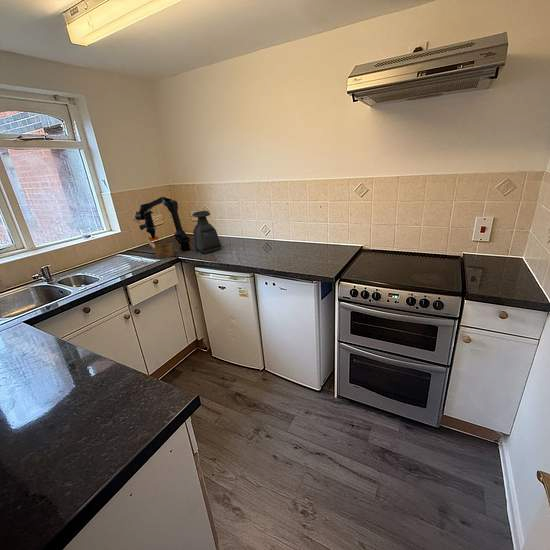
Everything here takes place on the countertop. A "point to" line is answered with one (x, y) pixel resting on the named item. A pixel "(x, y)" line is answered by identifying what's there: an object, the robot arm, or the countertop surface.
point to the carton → (164, 251)
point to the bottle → (205, 234)
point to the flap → (151, 243)
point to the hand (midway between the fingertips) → (153, 238)
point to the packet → (154, 237)
